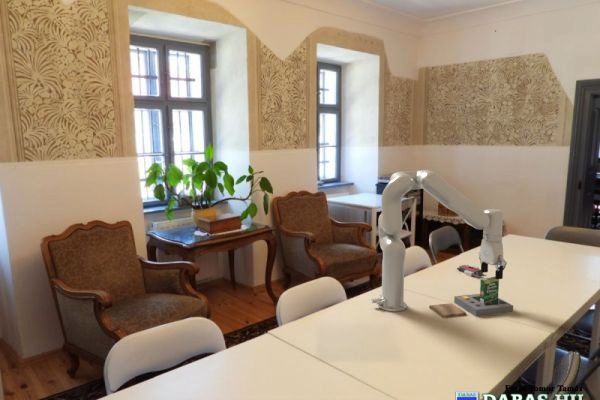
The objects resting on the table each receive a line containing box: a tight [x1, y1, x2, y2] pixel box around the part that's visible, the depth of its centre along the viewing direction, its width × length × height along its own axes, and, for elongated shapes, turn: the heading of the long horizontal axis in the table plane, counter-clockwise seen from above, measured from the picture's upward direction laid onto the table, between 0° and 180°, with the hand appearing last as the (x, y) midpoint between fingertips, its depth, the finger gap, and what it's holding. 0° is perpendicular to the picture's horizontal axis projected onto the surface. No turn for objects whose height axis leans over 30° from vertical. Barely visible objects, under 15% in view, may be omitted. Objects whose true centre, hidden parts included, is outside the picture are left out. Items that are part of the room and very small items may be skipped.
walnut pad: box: [428, 302, 467, 319], centre depth 183 cm, size 11×11×1 cm
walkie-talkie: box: [456, 264, 485, 279], centre depth 232 cm, size 9×4×20 cm
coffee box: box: [479, 276, 500, 306], centre depth 187 cm, size 8×3×13 cm, turn 107°
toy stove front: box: [453, 293, 514, 317], centre depth 187 cm, size 18×16×4 cm
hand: (491, 275), depth 186 cm, fingers open, 9 cm apart
